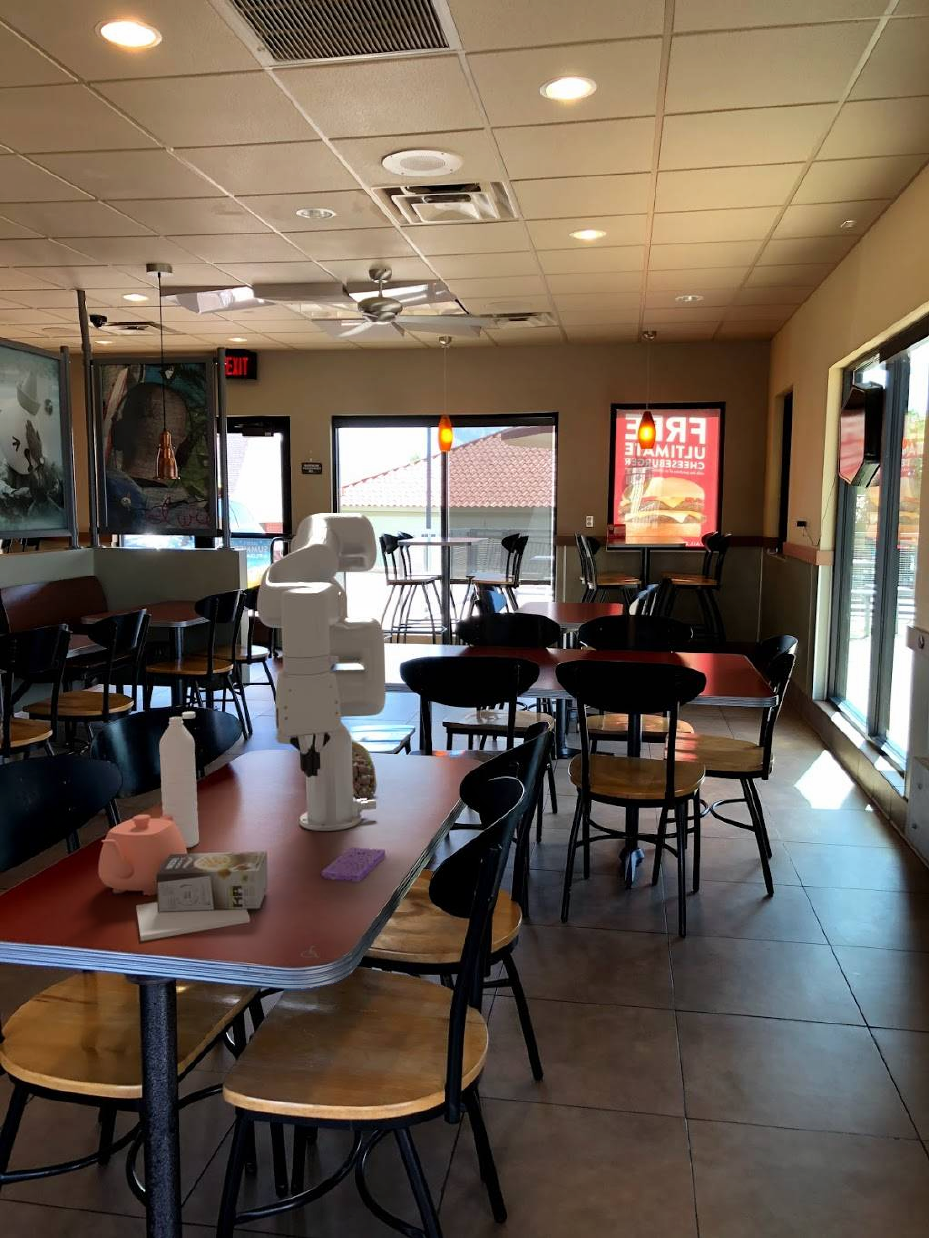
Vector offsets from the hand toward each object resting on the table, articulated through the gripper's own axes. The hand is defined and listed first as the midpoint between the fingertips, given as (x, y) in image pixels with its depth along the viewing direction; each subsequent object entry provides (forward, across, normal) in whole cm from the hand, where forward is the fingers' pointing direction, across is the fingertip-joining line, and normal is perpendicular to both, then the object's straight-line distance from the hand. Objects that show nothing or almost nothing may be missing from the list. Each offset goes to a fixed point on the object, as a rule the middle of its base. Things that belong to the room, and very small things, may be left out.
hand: (310, 774), depth 152 cm
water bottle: (+22, +18, -34) cm, 44 cm away
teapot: (+21, +27, -14) cm, 37 cm away
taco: (+24, -20, -59) cm, 67 cm away
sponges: (+22, -9, -8) cm, 25 cm away
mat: (+20, +20, +2) cm, 28 cm away
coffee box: (+16, +8, +1) cm, 18 cm away
